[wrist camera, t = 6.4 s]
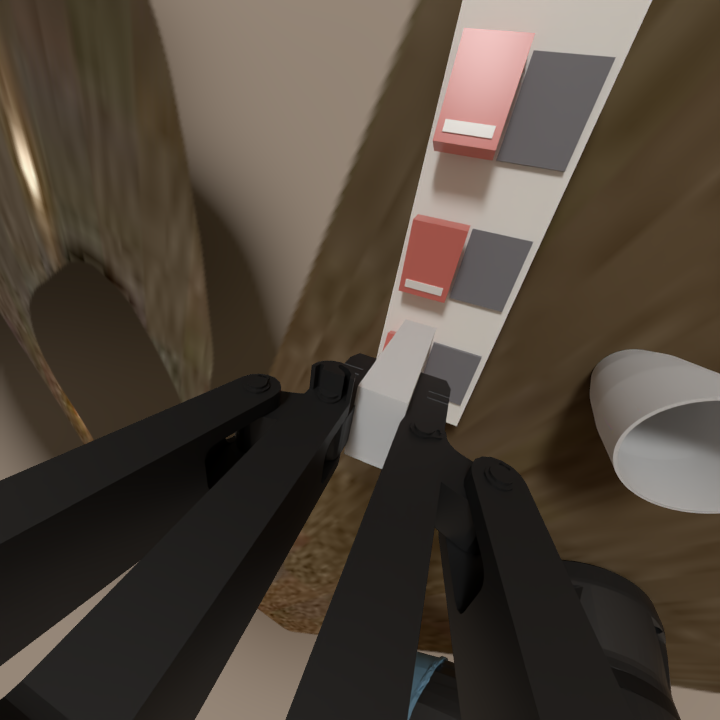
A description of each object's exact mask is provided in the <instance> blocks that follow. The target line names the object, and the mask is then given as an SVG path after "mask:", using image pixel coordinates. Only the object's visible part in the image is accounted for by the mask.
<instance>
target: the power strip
mask: <svg viewBox="0 0 720 720" xmlns="http://www.w3.org/2000/svg"><path fill="white" fill-rule="evenodd" d="M651 2H652V0H463V1H462V5H461V9H460V14H459V18H458V22H457V26H456V30H455V34H454V39H453V43H452V47H451V51H450V55H449V59H448V64H447V68H446V72H445V76H444V80H443V84H442V88H441V93H440V97H439V101H438V105H437V109H436V113H435V118H434V122H433V126H432V130H431V134H430V138H429V143H428V147H427V151H426V155H425V159H424V163H423V168H422V172H421V176H420V180H419V184H418V188H417V192H416V197H415V201H414V205H413V209H412V213H411V217H410V222H409V226H408V230H407V234H406V238H405V242H404V247H403V251H402V255H401V259H400V263H399V267H398V272H397V276H396V280H395V284H394V288H393V292H392V296H391V301H390V305H389V309H388V313H387V317H386V321H385V326H384V330H383V334H382V338H381V342H380V346H379V351H378V355H377V359H378V357H379V356H380V354H381V353H382V351H383V348H384V344H385V341H386V337H387V334H388V332H389V331H395V332H397V331H398V329H399V328H400V326H401V325H402V324H403V322H404V321H405V319H406V320H410V321H413V322H417V323H420V324H424V325H427V326H431V327H434V328H437V329H436V332H435V335H434V338H433V341H432V344H431V347H430V350H429V353H428V356H427V359H426V362H425V365H424V369H423V372H422V373H425V374H428V375H431V376H434V377H437V378H440V379H443V380H446V381H447V383H448V385H449V387H450V389H451V391H450V397H449V404H448V411H447V417H446V422H447V423H449V424H452V425H455V426H457V424H458V422H459V420H460V418H461V415H462V413H463V411H464V409H465V407H466V405H467V402H468V400H469V398H470V396H471V394H472V392H473V389H474V387H475V385H476V383H477V381H478V378H479V376H480V374H481V372H482V370H483V368H484V365H485V363H486V361H487V359H488V357H489V354H490V352H491V350H492V348H493V346H494V344H495V341H496V339H497V337H498V335H499V333H500V331H501V328H502V326H503V324H504V322H505V320H506V317H507V315H508V313H509V311H510V309H511V307H512V304H513V302H514V300H515V298H516V296H517V293H518V291H519V289H520V287H521V285H522V283H523V280H524V278H525V276H526V274H527V272H528V270H529V267H530V265H531V263H532V261H533V259H534V256H535V254H536V252H537V250H538V248H539V246H540V243H541V241H542V239H543V237H544V235H545V232H546V230H547V228H548V226H549V224H550V222H551V219H552V217H553V215H554V213H555V211H556V209H557V206H558V204H559V202H560V200H561V198H562V195H563V193H564V191H565V189H566V187H567V185H568V182H569V180H570V178H571V176H572V174H573V171H574V169H575V167H576V165H577V163H578V161H579V158H580V156H581V154H582V152H583V150H584V148H585V145H586V143H587V141H588V139H589V137H590V134H591V132H592V130H593V128H594V126H595V124H596V121H597V119H598V117H599V115H600V113H601V110H602V108H603V106H604V104H605V102H606V100H607V97H608V95H609V93H610V91H611V89H612V86H613V84H614V82H615V80H616V78H617V76H618V73H619V71H620V69H621V67H622V65H623V63H624V60H625V58H626V56H627V54H628V52H629V49H630V47H631V45H632V43H633V41H634V39H635V36H636V34H637V32H638V30H639V28H640V25H641V23H642V21H643V19H644V17H645V15H646V12H647V10H648V8H649V6H650V4H651ZM464 28H474V29H488V30H502V31H515V32H529V33H535V36H534V39H533V42H532V45H531V48H530V51H529V54H528V57H527V60H526V63H525V66H524V69H523V72H522V75H521V78H520V81H519V84H518V87H517V90H516V93H515V95H514V98H513V101H512V104H511V107H510V110H509V113H508V116H507V119H506V122H505V125H504V128H503V131H502V134H501V137H500V140H499V143H498V146H497V149H496V152H495V155H494V157H493V160H486V159H480V158H474V157H468V156H462V155H456V154H450V153H444V152H438V151H434V147H433V137H434V134H435V130H436V126H437V123H438V119H439V116H440V112H441V108H442V105H443V101H444V98H445V94H446V90H447V87H448V83H449V80H450V76H451V72H452V69H453V65H454V62H455V58H456V54H457V51H458V47H459V44H460V40H461V37H462V33H463V29H464ZM418 214H420V215H425V216H429V217H434V218H439V219H443V220H448V221H452V222H457V223H462V224H466V225H471V226H470V229H469V232H468V235H467V238H466V241H465V244H464V247H463V250H462V253H461V256H460V258H459V261H458V264H457V267H456V270H455V273H454V276H453V279H452V282H451V285H450V288H449V291H448V294H447V297H446V300H445V303H442V302H438V301H435V300H431V299H427V298H424V297H420V296H417V295H413V294H410V293H406V292H402V291H399V285H400V280H401V276H402V271H403V266H404V261H405V256H406V251H407V247H408V242H409V237H410V232H411V227H412V222H413V219H414V218H415V217H416V216H417V215H418Z"/></svg>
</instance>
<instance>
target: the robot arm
mask: <svg viewBox="0 0 720 720" xmlns="http://www.w3.org/2000/svg"><path fill="white" fill-rule="evenodd" d="M436 329H437V328H434V327H431V326H427V325H424V324H420V323H417V322H413V321H410V320H406V319H405V321H404V322H403V324H402V325H401V326H400V328H399V329H398V331H397V332H396V333H395V335H394V336H393V338H392V339H391V340H390V342H389V343H388V345H387V346H386V347H385V349H384V350H383V352H382V353H381V354H380V356H379V357H378V359H376V358H373V357H370V356H367V355H364V354H361V353H360V354H357V355H354V356H352V357H350V358H349V359H348V360H347V361H346V362H345V364H343V363H340V362H336V361H321V362H317V363H315V364H313V365H312V370H311V379H310V388H309V390H308V391H307V392H306V393H303V394H302V393H291V392H284V391H281V385H280V382H279V381H278V380H277V379H276V378H274V377H272V376H269V375H264V374H250V375H247V376H244V377H241V378H239V379H236V380H234V381H232V382H229V383H227V384H225V385H222V386H220V387H218V388H215V389H213V390H211V391H208V392H206V393H204V394H201V395H199V396H197V397H194V398H192V399H190V400H187V401H185V402H183V403H180V404H178V405H176V406H173V407H171V408H169V409H166V410H164V411H162V412H159V413H157V414H155V415H152V416H150V417H148V418H145V419H143V420H141V421H138V422H136V423H134V424H131V425H129V426H127V427H124V428H122V429H120V430H118V431H115V432H113V433H110V434H108V435H106V436H103V437H101V438H99V439H96V440H94V441H92V442H89V443H87V444H85V445H82V446H80V447H78V448H75V449H73V450H71V451H68V452H66V453H64V454H61V455H59V456H57V457H54V458H52V459H50V460H47V461H45V462H43V463H40V464H38V465H36V466H33V467H31V468H29V469H27V470H24V471H22V472H19V473H17V474H15V475H13V476H10V477H8V478H5V479H3V480H1V481H0V666H1V665H2V664H4V663H5V662H6V661H7V660H9V659H10V658H12V657H13V656H14V655H16V654H17V653H18V652H20V651H21V650H22V649H24V648H25V647H26V646H28V645H29V644H30V643H31V642H33V641H34V640H35V639H36V638H38V637H39V636H41V635H42V634H43V633H45V632H46V631H47V630H49V629H50V628H51V627H53V626H54V625H55V624H56V623H58V622H59V621H61V620H62V619H63V618H65V617H66V616H67V615H69V614H70V613H71V612H72V611H74V610H75V609H76V608H77V607H79V606H80V605H82V604H83V603H84V602H86V601H87V600H88V599H90V598H91V597H92V596H94V595H95V594H96V593H98V592H99V591H100V590H102V589H103V588H104V587H106V586H107V585H108V584H109V583H111V582H112V581H113V580H115V579H116V578H117V577H119V576H120V575H121V574H123V573H124V572H125V571H126V570H128V569H129V568H131V567H132V566H133V565H134V564H136V563H137V562H138V563H137V564H136V565H135V566H134V567H133V568H132V570H130V571H129V573H128V574H126V575H125V576H124V578H123V579H122V580H121V581H120V582H119V583H118V584H117V585H116V586H115V587H114V588H113V589H112V590H111V591H110V592H109V593H108V594H107V595H106V596H105V597H104V598H103V599H102V600H101V601H100V602H99V603H98V604H97V605H96V606H95V607H94V608H93V609H92V610H91V611H90V612H89V613H88V614H87V615H86V616H85V617H84V618H83V619H82V620H81V621H80V622H79V623H78V624H77V625H76V626H75V627H74V628H73V629H72V630H71V631H70V632H69V633H68V634H67V635H66V636H65V637H64V639H62V640H61V642H60V643H59V644H58V645H57V646H56V647H55V648H54V649H53V650H52V651H51V652H50V653H49V654H48V655H47V656H46V657H45V658H44V659H43V660H42V661H41V662H40V663H39V664H38V665H37V666H36V667H35V668H34V669H33V670H32V671H31V672H30V673H29V674H28V675H27V676H26V677H25V678H24V679H23V680H22V681H21V682H20V683H19V684H18V685H17V686H16V687H15V688H13V689H12V690H11V691H10V692H9V693H8V694H7V695H6V696H5V697H3V698H2V699H1V700H0V720H195V718H196V716H197V715H198V713H199V711H200V709H201V707H202V706H203V704H204V702H205V700H206V699H207V697H208V695H209V693H210V691H211V690H212V688H213V686H214V685H215V683H216V681H217V679H218V677H219V675H220V674H221V672H222V670H223V669H224V667H225V665H226V663H227V661H228V660H229V658H230V656H231V654H232V652H233V651H234V649H235V647H236V645H237V644H238V642H239V640H240V638H241V636H242V635H243V633H244V631H245V629H246V627H247V626H248V624H249V622H250V620H251V619H252V617H253V615H254V613H255V612H256V610H257V608H258V606H259V604H260V603H261V601H262V599H263V597H264V596H265V594H266V592H267V590H268V588H269V587H270V585H271V583H272V581H273V580H274V578H275V576H276V574H277V572H278V570H279V569H280V567H281V565H282V564H283V562H284V560H285V558H286V556H287V555H288V553H289V551H290V549H291V548H292V546H293V544H294V542H295V540H296V539H297V537H298V535H299V533H300V532H301V530H302V528H303V526H304V524H305V523H306V521H307V519H308V517H309V516H310V514H311V512H312V510H313V508H314V507H315V505H316V503H317V501H318V500H319V498H320V496H321V494H322V492H323V491H324V489H325V487H326V485H327V484H328V482H329V480H330V478H331V476H332V475H333V473H334V471H335V469H336V468H337V466H338V462H339V458H340V453H341V451H342V450H343V448H344V446H345V445H346V447H345V451H344V454H346V455H349V456H351V457H354V458H356V459H358V460H361V461H363V462H366V463H368V464H370V465H373V466H375V467H378V468H380V469H382V470H381V473H380V476H379V478H378V481H377V483H376V486H375V489H374V491H373V494H372V496H371V499H370V502H369V504H368V507H367V509H366V512H365V515H364V517H363V520H362V522H361V525H360V528H359V530H358V533H357V535H356V538H355V541H354V543H353V546H352V548H351V551H350V554H349V556H348V559H347V561H346V564H345V567H344V569H343V572H342V574H341V577H340V580H339V582H338V585H337V587H336V590H335V592H334V595H333V598H332V600H331V603H330V605H329V608H328V611H327V613H326V616H325V618H324V621H323V624H322V626H321V629H320V631H319V634H318V637H317V639H316V642H315V645H314V647H313V650H312V652H311V655H310V657H309V660H308V663H307V665H306V668H305V670H304V673H303V676H302V679H301V681H300V683H299V686H298V689H297V691H296V694H295V696H294V699H293V702H292V704H291V707H290V709H289V712H288V715H287V717H286V720H681V719H680V717H679V714H678V712H677V709H676V707H675V704H674V702H673V699H672V695H671V685H670V676H669V667H668V657H667V650H666V645H665V643H666V639H665V632H664V628H663V625H662V623H661V621H660V618H659V616H658V614H657V612H656V610H655V607H654V605H653V603H652V601H651V600H650V598H649V597H648V596H647V595H646V594H645V593H644V592H643V591H642V590H641V589H640V588H639V587H637V586H636V585H635V584H633V583H632V582H630V581H629V580H627V579H625V578H623V577H622V576H620V575H618V574H615V573H613V572H611V571H608V570H605V569H603V568H600V567H596V566H593V565H589V564H584V563H579V562H572V561H561V558H560V556H559V554H558V552H557V550H556V547H555V545H554V543H553V541H552V539H551V537H550V534H549V532H548V530H547V528H546V526H545V524H544V521H543V519H542V517H541V515H540V513H539V510H538V508H537V506H536V504H535V502H534V500H533V497H532V495H531V493H530V491H529V489H528V487H527V484H526V483H525V481H524V480H523V478H522V477H521V475H520V474H519V473H518V472H517V471H516V470H514V469H513V468H512V467H511V466H509V465H508V464H506V463H504V462H503V461H501V460H498V459H495V458H492V457H480V458H477V459H475V460H474V462H472V461H471V460H469V459H468V458H466V457H464V456H463V455H461V454H460V453H459V452H457V451H456V450H455V449H454V448H453V447H452V446H451V445H450V444H449V442H448V441H447V436H446V432H445V424H446V417H447V411H448V404H449V397H450V391H451V389H450V387H449V385H448V383H447V381H446V380H443V379H440V378H437V377H434V376H431V375H428V374H425V373H422V372H423V369H424V365H425V362H426V359H427V356H428V353H429V350H430V347H431V344H432V341H433V338H434V335H435V332H436ZM233 433H235V436H233V437H231V438H229V439H225V438H226V437H228V436H229V435H231V434H233ZM434 528H436V529H437V530H438V531H439V543H440V551H441V559H442V568H443V576H444V584H445V592H446V600H447V608H448V616H449V624H450V632H451V640H452V648H453V656H454V663H453V662H450V661H448V659H447V658H446V657H443V656H441V657H435V656H431V655H427V654H424V653H420V652H417V648H418V641H419V634H420V627H421V620H422V613H423V606H424V598H425V591H426V584H427V577H428V570H429V563H430V556H431V549H432V542H433V535H434Z"/></svg>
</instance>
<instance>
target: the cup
mask: <svg viewBox="0 0 720 720" xmlns="http://www.w3.org/2000/svg"><path fill="white" fill-rule="evenodd" d="M590 401H591V406H592V410H593V414H594V419H595V423H596V427H597V430H598V432H599V435H600V437H601V439H602V442H603V444H604V446H605V449H606V451H607V453H608V455H609V458H610V460H611V462H612V465H613V467H614V469H615V471H616V474H617V476H618V477H619V479H620V480H621V482H622V483H623V484H624V485H625V486H626V487H627V488H628V489H629V490H630V491H632V492H633V493H635V494H636V495H638V496H639V497H641V498H643V499H645V500H647V501H649V502H651V503H654V504H656V505H659V506H662V507H665V508H669V509H673V510H678V511H684V512H692V513H720V374H719V373H716V372H714V371H711V370H708V369H706V368H703V367H701V366H698V365H695V364H693V363H690V362H688V361H685V360H683V359H680V358H677V357H675V356H671V355H667V354H662V353H656V352H651V351H645V350H637V349H631V350H623V351H619V352H616V353H613V354H611V355H609V356H607V357H605V358H604V359H603V360H601V361H600V362H599V363H598V364H597V365H596V367H595V368H594V370H593V372H592V375H591V384H590Z"/></svg>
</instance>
